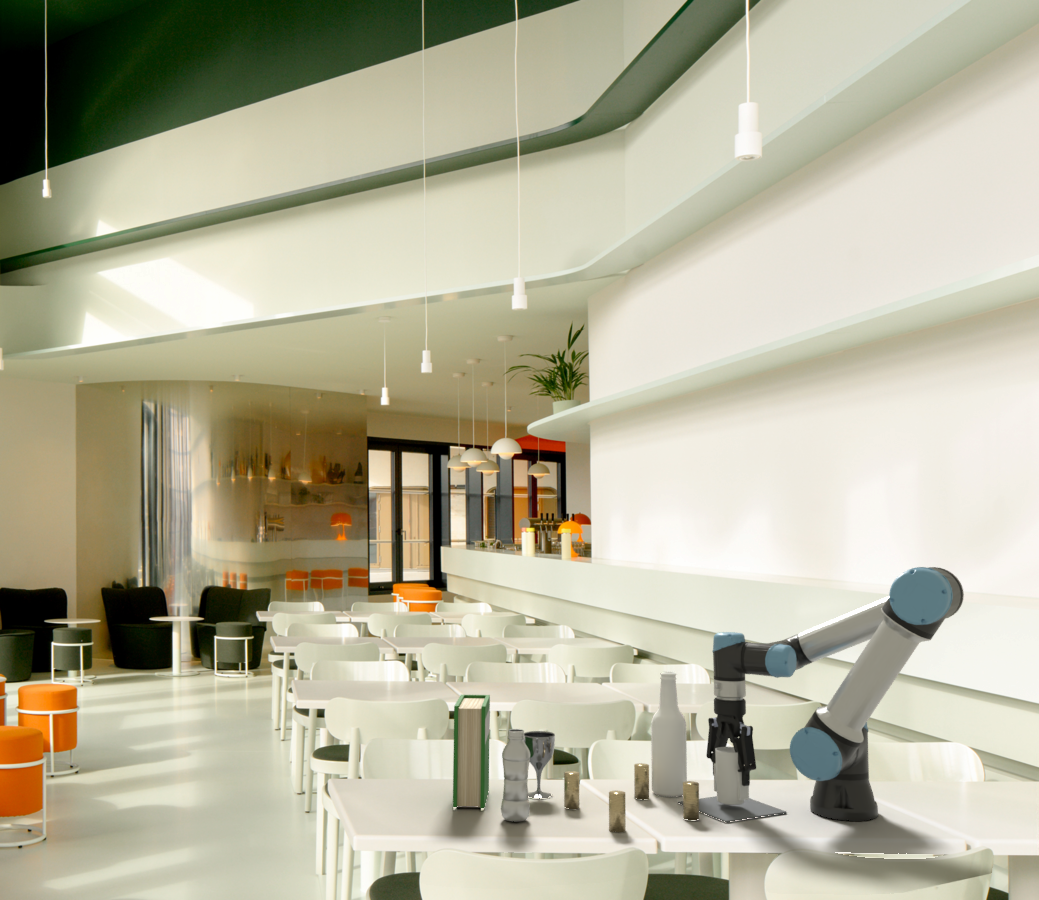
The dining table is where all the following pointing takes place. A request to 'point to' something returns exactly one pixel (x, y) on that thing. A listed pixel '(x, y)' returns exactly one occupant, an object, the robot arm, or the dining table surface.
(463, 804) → the hardback book
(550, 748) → the wine glass
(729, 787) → the mug
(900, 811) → the dining table surface
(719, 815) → the mat
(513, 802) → the plastic bottle
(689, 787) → the spacer posts
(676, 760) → the alcohol
